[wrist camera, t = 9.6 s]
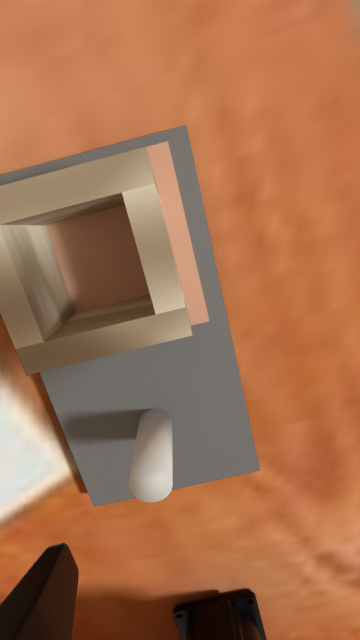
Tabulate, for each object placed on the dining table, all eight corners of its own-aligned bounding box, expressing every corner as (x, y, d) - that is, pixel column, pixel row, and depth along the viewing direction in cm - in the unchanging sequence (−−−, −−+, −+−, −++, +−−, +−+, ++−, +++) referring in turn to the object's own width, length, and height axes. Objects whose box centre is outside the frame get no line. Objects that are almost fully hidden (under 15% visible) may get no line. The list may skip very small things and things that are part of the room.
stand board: (256, 459, 21) (285, 541, 16) (97, 494, 22) (71, 585, 16) (185, 130, 16) (192, 79, 10) (-25, 187, 16) (-126, 167, 11)
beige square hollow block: (187, 308, 17) (192, 335, 13) (62, 338, 18) (26, 375, 13) (152, 169, 15) (145, 146, 11) (13, 206, 16) (-48, 198, 11)
